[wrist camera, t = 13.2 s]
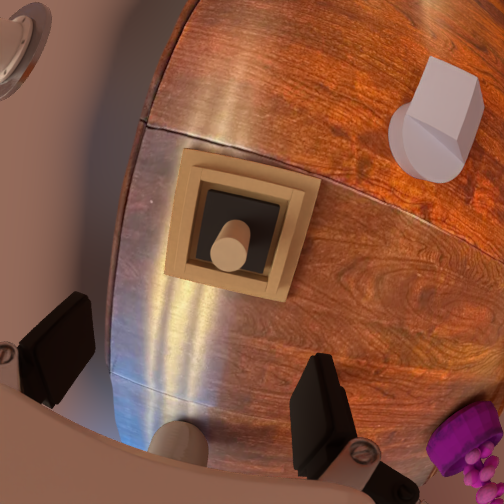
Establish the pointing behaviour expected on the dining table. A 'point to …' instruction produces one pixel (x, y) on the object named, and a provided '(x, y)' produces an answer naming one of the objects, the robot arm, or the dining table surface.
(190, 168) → the base pad
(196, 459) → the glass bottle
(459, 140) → the wedge on round base
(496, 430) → the decorative plant
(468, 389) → the dining table surface
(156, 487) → the robot arm
